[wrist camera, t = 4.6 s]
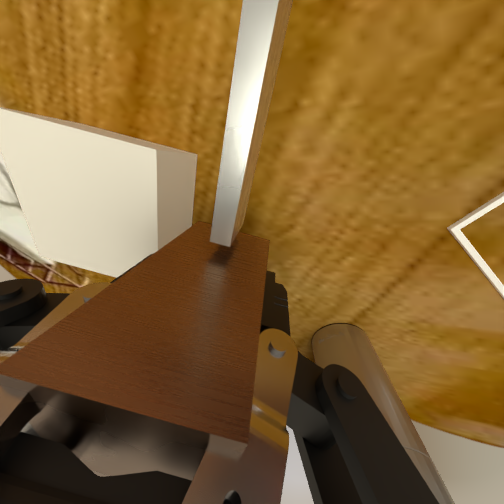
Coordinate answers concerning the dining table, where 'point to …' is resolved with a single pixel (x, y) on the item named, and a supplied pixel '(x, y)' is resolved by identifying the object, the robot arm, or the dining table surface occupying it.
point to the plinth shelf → (96, 191)
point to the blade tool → (170, 315)
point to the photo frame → (469, 248)
